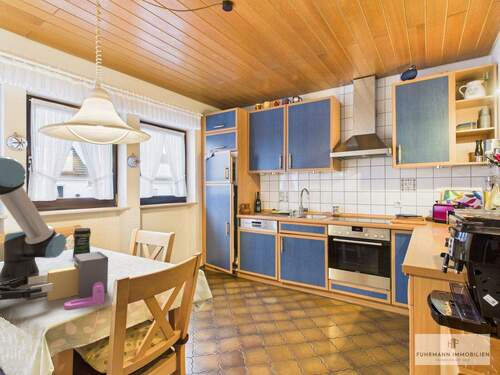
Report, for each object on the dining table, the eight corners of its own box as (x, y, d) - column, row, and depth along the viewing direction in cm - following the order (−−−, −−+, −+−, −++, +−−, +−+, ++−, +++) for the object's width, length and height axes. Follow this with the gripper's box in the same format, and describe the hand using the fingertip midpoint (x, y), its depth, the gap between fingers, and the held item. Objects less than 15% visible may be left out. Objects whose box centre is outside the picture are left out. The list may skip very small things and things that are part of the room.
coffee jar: (72, 258, 169) (72, 229, 169) (73, 255, 176) (74, 227, 176) (90, 257, 174) (90, 228, 174) (90, 254, 181) (91, 226, 181)
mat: (25, 291, 115) (25, 290, 115) (74, 282, 127) (74, 280, 127) (27, 300, 106) (27, 298, 106) (80, 289, 118) (80, 287, 118)
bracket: (103, 298, 110) (103, 281, 110) (103, 303, 105) (104, 285, 105) (64, 305, 103) (64, 286, 103) (63, 310, 98) (63, 291, 98)
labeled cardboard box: (47, 298, 109) (47, 270, 109) (91, 288, 120) (92, 264, 120) (48, 301, 106) (48, 273, 106) (93, 291, 117) (94, 265, 117)
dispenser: (72, 288, 119) (72, 254, 119) (98, 283, 126) (99, 251, 126) (78, 298, 109) (79, 261, 109) (107, 292, 116) (108, 257, 116)
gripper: (-24, 295, 102) (46, 283, 116) (-30, 319, 84) (54, 301, 98) (-23, 275, 102) (46, 265, 117) (-29, 295, 84) (54, 280, 98)
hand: (50, 282), depth 107 cm, fingers open, 13 cm apart
